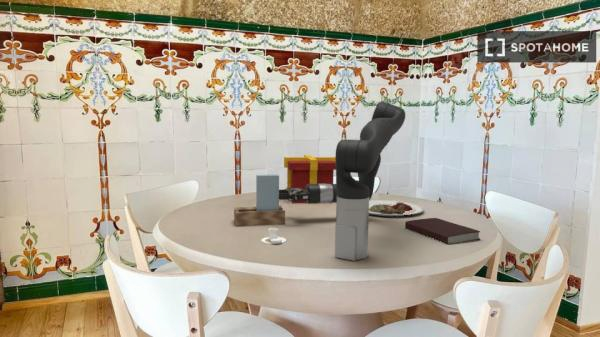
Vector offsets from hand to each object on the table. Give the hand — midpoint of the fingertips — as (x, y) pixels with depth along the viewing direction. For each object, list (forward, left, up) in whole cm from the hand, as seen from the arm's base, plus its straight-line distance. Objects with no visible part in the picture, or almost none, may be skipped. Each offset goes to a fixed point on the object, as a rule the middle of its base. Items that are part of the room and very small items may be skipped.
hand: (277, 194), depth 163 cm
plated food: (+44, -26, -11) cm, 53 cm away
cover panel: (-3, +2, -11) cm, 11 cm away
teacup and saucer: (-23, -12, -11) cm, 28 cm away
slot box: (-4, +6, -10) cm, 12 cm away
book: (+19, -56, -11) cm, 60 cm away
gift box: (+46, +14, -11) cm, 50 cm away
